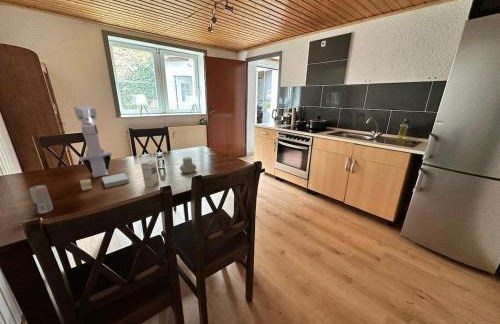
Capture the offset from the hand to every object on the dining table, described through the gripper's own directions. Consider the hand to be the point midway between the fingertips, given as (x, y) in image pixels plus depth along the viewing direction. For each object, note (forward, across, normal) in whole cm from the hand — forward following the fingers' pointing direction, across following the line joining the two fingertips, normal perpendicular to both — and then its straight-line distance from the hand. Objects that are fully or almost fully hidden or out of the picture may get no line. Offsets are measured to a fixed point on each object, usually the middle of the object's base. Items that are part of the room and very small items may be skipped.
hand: (99, 170), depth 114 cm
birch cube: (+10, -6, +7) cm, 13 cm away
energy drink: (+11, -26, -7) cm, 29 cm away
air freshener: (+11, +46, -17) cm, 50 cm away
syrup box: (+11, +19, -18) cm, 28 cm away
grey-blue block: (+10, +8, +4) cm, 13 cm away
